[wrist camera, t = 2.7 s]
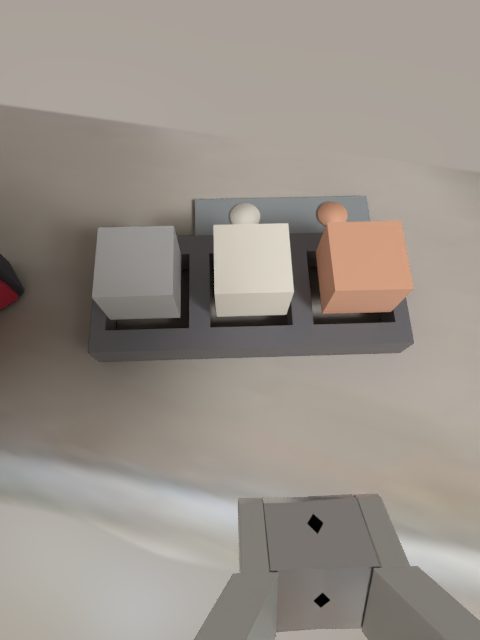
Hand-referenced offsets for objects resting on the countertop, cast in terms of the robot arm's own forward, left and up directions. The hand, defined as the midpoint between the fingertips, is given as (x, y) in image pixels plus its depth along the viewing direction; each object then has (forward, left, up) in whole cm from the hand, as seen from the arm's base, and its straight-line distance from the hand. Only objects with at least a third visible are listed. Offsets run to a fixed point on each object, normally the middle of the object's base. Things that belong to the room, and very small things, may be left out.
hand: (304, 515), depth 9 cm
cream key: (0, -13, -16) cm, 21 cm away
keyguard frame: (0, -13, -19) cm, 23 cm away
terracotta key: (-7, -13, -16) cm, 22 cm away
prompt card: (-3, -20, -19) cm, 28 cm away
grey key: (+7, -13, -16) cm, 22 cm away
